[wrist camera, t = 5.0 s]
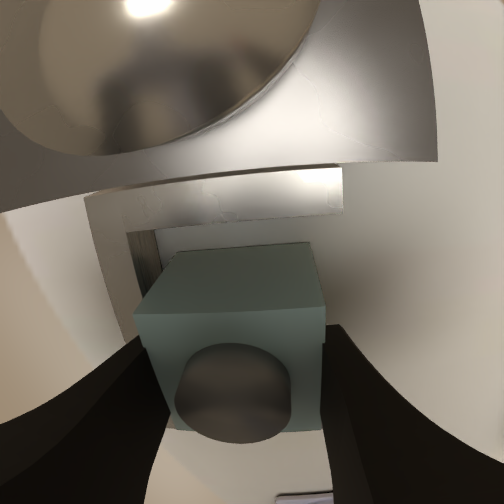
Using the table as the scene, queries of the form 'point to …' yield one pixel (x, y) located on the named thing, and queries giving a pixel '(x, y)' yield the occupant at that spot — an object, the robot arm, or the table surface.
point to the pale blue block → (238, 340)
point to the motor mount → (203, 113)
